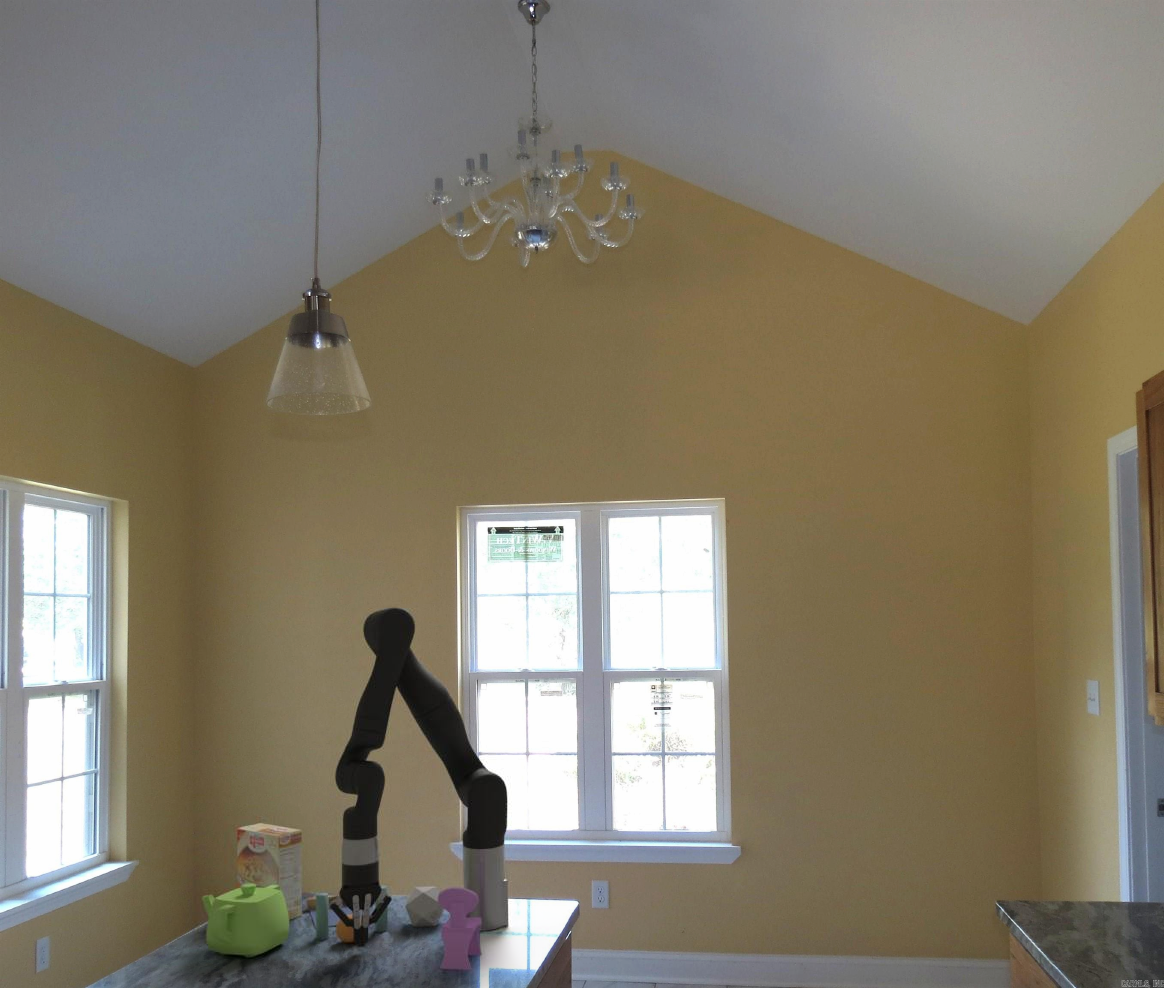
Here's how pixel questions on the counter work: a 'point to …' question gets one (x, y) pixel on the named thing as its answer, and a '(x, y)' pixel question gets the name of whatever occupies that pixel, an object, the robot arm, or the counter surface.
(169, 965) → the counter surface
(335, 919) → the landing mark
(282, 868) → the coffeecake box
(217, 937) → the teapot
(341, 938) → the ball
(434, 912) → the die
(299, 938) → the counter surface
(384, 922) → the post
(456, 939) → the toy chair
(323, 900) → the post
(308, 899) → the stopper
